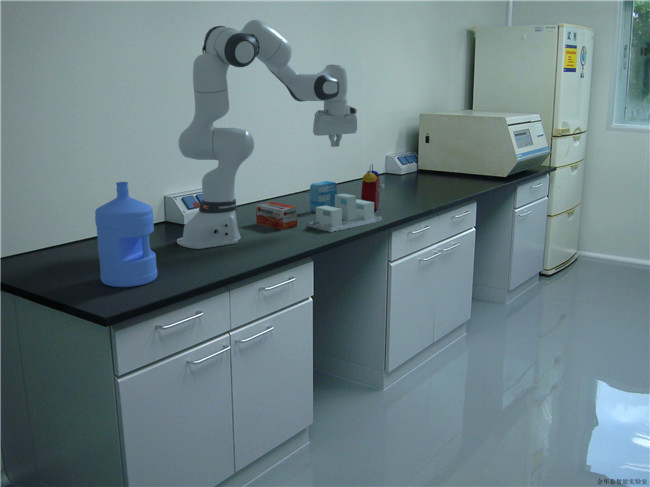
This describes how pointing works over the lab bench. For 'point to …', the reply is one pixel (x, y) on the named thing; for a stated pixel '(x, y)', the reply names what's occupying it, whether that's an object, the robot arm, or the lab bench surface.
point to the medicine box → (276, 215)
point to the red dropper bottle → (371, 187)
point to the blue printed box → (322, 194)
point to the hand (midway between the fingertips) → (335, 146)
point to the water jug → (125, 241)
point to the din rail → (345, 224)
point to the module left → (329, 215)
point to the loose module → (346, 205)
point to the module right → (364, 209)
